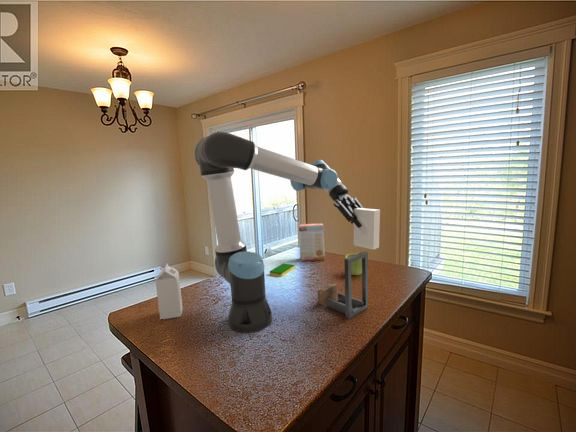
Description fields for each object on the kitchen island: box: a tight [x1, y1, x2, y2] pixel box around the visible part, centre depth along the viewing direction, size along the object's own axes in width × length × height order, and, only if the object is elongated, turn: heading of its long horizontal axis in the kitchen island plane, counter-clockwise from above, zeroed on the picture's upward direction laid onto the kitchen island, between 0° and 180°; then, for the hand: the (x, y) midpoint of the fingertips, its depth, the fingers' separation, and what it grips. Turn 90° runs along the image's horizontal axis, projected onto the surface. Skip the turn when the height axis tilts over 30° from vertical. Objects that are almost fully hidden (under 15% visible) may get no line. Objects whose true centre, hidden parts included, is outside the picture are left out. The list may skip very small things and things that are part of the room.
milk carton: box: [154, 262, 184, 321], centre depth 104 cm, size 7×7×19 cm
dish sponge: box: [269, 263, 295, 278], centre depth 146 cm, size 7×14×2 cm, turn 150°
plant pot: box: [345, 253, 362, 276], centre depth 138 cm, size 9×9×9 cm
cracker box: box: [298, 223, 326, 262], centre depth 163 cm, size 14×6×21 cm, turn 84°
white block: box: [353, 207, 381, 251], centre depth 111 cm, size 4×9×15 cm, turn 42°
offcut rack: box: [326, 251, 369, 320], centre depth 102 cm, size 12×12×21 cm
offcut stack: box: [317, 283, 338, 306], centre depth 110 cm, size 8×3×6 cm, turn 131°
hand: (370, 231), depth 110 cm, fingers closed on white block, 4 cm apart
